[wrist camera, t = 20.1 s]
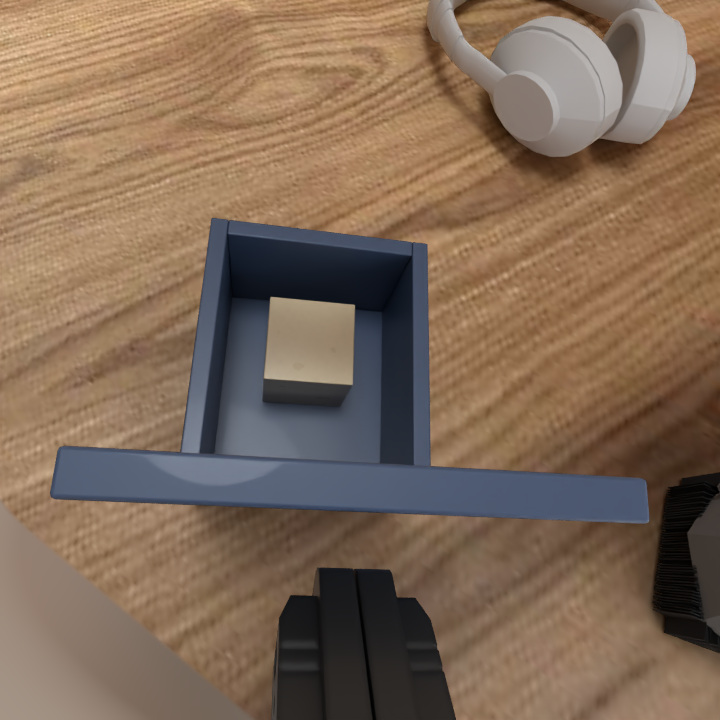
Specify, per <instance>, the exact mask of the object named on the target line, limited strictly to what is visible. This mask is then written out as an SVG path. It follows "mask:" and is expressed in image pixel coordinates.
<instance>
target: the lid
mask: <svg viewBox="0 0 720 720" xmlns="http://www.w3.org/2000/svg"><path fill="white" fill-rule="evenodd" d="M50 495H51V497H52V498H54V499H62V500H86V501H110V502H134V503H158V504H182V505H206V506H230V507H254V508H278V509H302V510H326V511H350V512H374V513H398V514H422V515H446V516H470V517H494V518H518V519H542V520H566V521H590V522H614V523H638V524H645V523H647V522H649V509H648V497H647V485H646V481H645V480H644V479H642V478H633V477H615V476H597V475H579V474H561V473H543V472H526V471H508V470H490V469H472V468H454V467H436V466H419V465H401V464H383V463H365V462H347V461H329V460H311V459H294V458H276V457H258V456H240V455H222V454H204V453H187V452H169V451H151V450H133V449H115V448H97V447H79V446H62V447H60V448H59V449H58V451H57V457H56V462H55V468H54V474H53V479H52V485H51V491H50Z"/></svg>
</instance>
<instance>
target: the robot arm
mask: <svg viewBox="0 0 720 720" xmlns="http://www.w3.org/2000/svg"><path fill="white" fill-rule="evenodd" d="M271 719H272V720H456V717H455V713H454V709H453V706H452V702H451V698H450V694H449V690H448V686H447V682H446V678H445V674H444V672H443V671H442V662H441V659H440V655H439V651H438V650H437V643H436V639H435V635H434V631H433V627H432V623H431V620H430V618H429V617H428V615H427V614H426V613H425V611H424V610H423V608H422V607H421V605H420V604H419V603H418V601H417V600H416V598H397V596H396V591H395V586H394V581H393V577H392V573H391V571H390V570H381V569H354V571H353V569H350V568H317V570H316V574H315V581H314V587H313V594H312V596H298V595H291V596H290V598H289V600H288V602H287V604H286V606H285V608H284V610H283V612H282V614H281V615H280V617H279V625H278V633H277V641H276V650H275V658H274V666H273V688H272V716H271Z"/></svg>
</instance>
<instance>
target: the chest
mask: <svg viewBox="0 0 720 720" xmlns="http://www.w3.org/2000/svg"><path fill="white" fill-rule="evenodd" d="M270 297H278V298H289V299H299V300H309V301H320V302H330V303H340V304H351V305H355V330H354V365H353V385H352V387H351V389H350V391H349V392H348V394H347V396H346V397H345V399H344V401H343V402H342V404H341V406H340V407H338V406H323V405H309V404H294V403H279V402H264V401H262V394H263V377H264V365H265V353H266V341H267V329H268V317H269V305H270ZM180 452H187V453H204V454H222V455H240V456H258V457H276V458H294V459H311V460H329V461H347V462H365V463H383V464H401V465H419V466H431V462H430V391H429V321H428V251H427V244H423V243H415V242H413V243H412V242H406V241H398V240H390V239H382V238H373V237H365V236H357V235H349V234H340V233H332V232H324V231H316V230H307V229H299V228H291V227H283V226H274V225H266V224H258V223H250V222H241V221H233V220H229V221H228V220H226V219H217V218H212V219H211V226H210V233H209V241H208V248H207V256H206V263H205V270H204V278H203V285H202V293H201V300H200V308H199V315H198V323H197V330H196V338H195V345H194V353H193V360H192V368H191V375H190V383H189V390H188V398H187V405H186V413H185V420H184V428H183V435H182V443H181V450H180Z"/></svg>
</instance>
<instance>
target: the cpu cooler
mask: <svg viewBox="0 0 720 720" xmlns="http://www.w3.org/2000/svg"><path fill="white" fill-rule="evenodd" d="M668 488H670V489H671V490H667V491H670V492H667V493H670V494H666V495H669V496H670V497H667V498H666V500H667V501H666V502H668V503H665V505H666V506H665V507H667V508H664V509H665V510H664V512H666V513H664V516H663V517H666V518H663V519H664V520H663V521H666V523H663V524H664V525H662V527H665V528H662V529H663V530H665V531H662V532H664V533H661V534H662V535H661V537H664V538H661V539H662V540H660V542H663V543H660V544H661V545H663V546H660V547H662V548H659V549H660V550H659V551H662V552H664V553H659V555H662V556H664V557H661V558H658V560H661V561H663V562H659V563H662V564H659V563H657V565H659V566H657V568H660V569H657V571H660V572H657V571H656V573H658V574H656V576H659V577H656V578H657V579H655V581H657V582H660V583H656V584H658V585H655V586H656V587H654V589H657V590H660V591H657V590H655V591H657V592H660V593H662V594H658V593H655V594H657V595H660V596H654V595H653V597H655V598H658V599H656V600H658V601H661V602H657V601H653V603H656V604H654V605H657V606H659V607H654V608H657V609H659V610H655V609H653V610H655V611H657V612H659V613H661V614H663V615H666V616H667V617H666V623H665V630H664V633H667V634H669V635H672V636H675V637H677V638H680V639H683V640H686V641H688V642H691V643H693V644H696V645H699V646H701V647H704V648H707V649H710V650H712V651H715V652H718V653H720V473H713V474H707V475H701V476H694V477H688V478H682V485H679V486H674V487H668ZM658 579H660V580H658ZM662 583H663V584H662ZM657 587H658V588H657ZM655 598H653V599H655ZM660 607H661V608H660ZM661 610H662V611H661Z"/></svg>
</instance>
